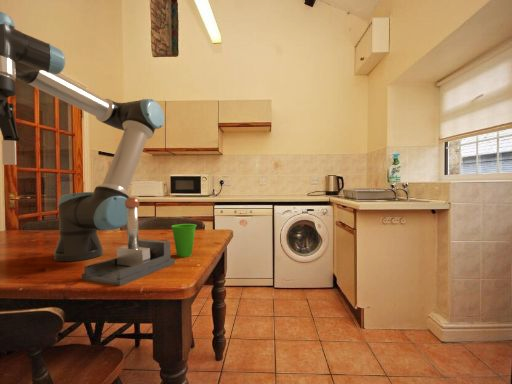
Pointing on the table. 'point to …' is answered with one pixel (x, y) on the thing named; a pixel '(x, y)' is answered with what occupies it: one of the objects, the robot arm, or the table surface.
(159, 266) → the base
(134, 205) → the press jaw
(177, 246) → the cup
